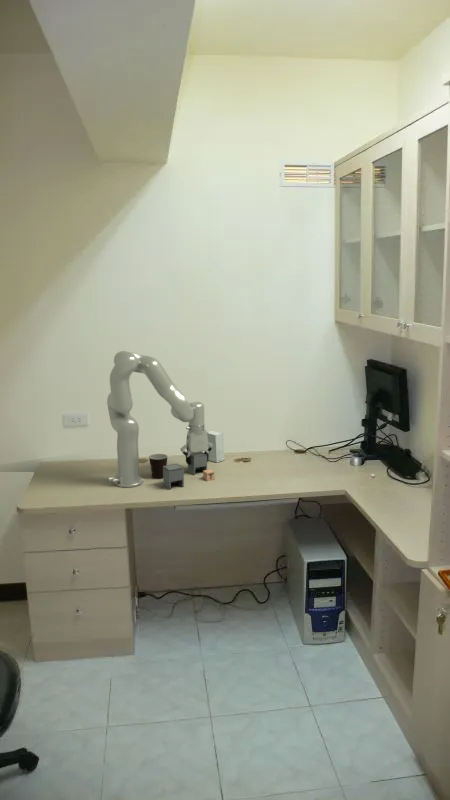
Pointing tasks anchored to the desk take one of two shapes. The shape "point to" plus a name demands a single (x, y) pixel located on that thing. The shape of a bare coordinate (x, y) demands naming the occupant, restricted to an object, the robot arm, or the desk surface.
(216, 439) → the skincare box
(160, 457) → the coffee mug
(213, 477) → the letter cube
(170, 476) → the cover left
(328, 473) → the desk surface
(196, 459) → the cover right
